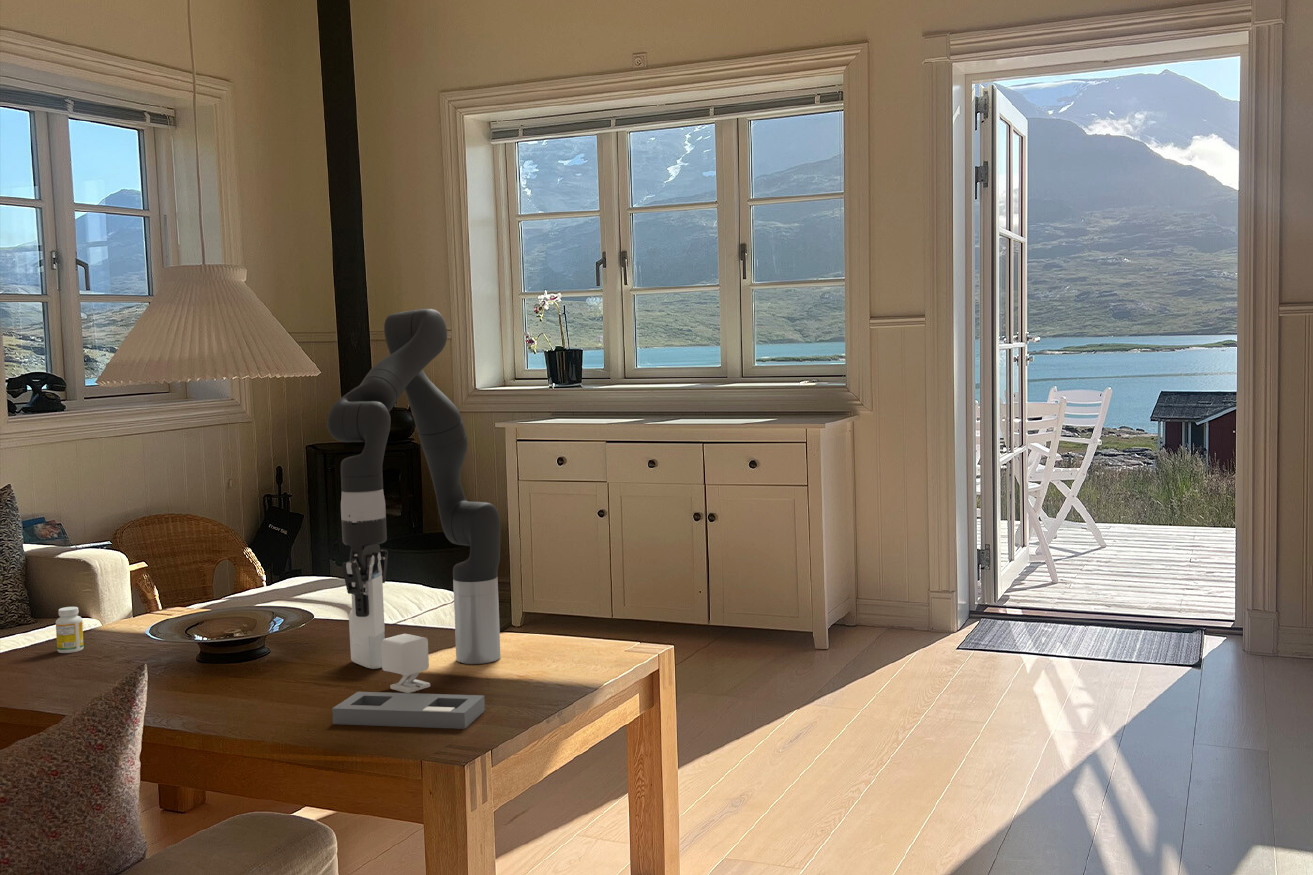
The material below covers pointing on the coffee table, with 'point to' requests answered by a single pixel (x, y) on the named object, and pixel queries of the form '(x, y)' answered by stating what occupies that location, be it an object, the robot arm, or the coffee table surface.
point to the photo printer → (366, 648)
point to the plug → (370, 610)
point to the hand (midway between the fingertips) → (368, 612)
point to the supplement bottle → (69, 630)
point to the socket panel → (409, 710)
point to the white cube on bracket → (406, 660)
